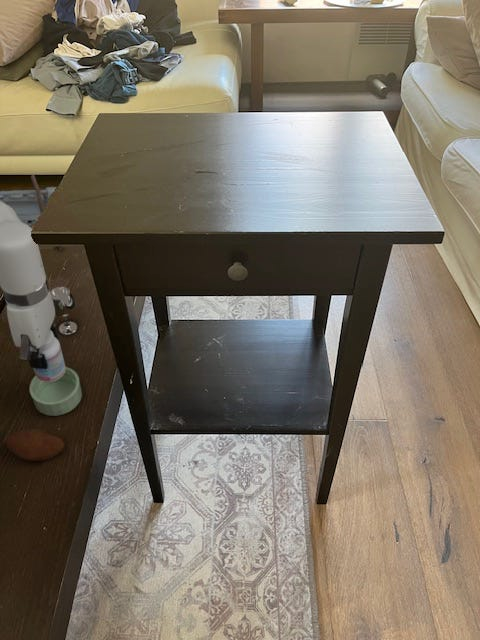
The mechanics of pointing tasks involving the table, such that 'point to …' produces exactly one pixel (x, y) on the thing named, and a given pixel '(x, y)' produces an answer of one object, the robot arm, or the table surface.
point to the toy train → (26, 203)
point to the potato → (34, 444)
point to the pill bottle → (51, 360)
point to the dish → (56, 394)
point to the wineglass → (64, 308)
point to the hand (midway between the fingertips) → (45, 353)
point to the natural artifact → (39, 196)
